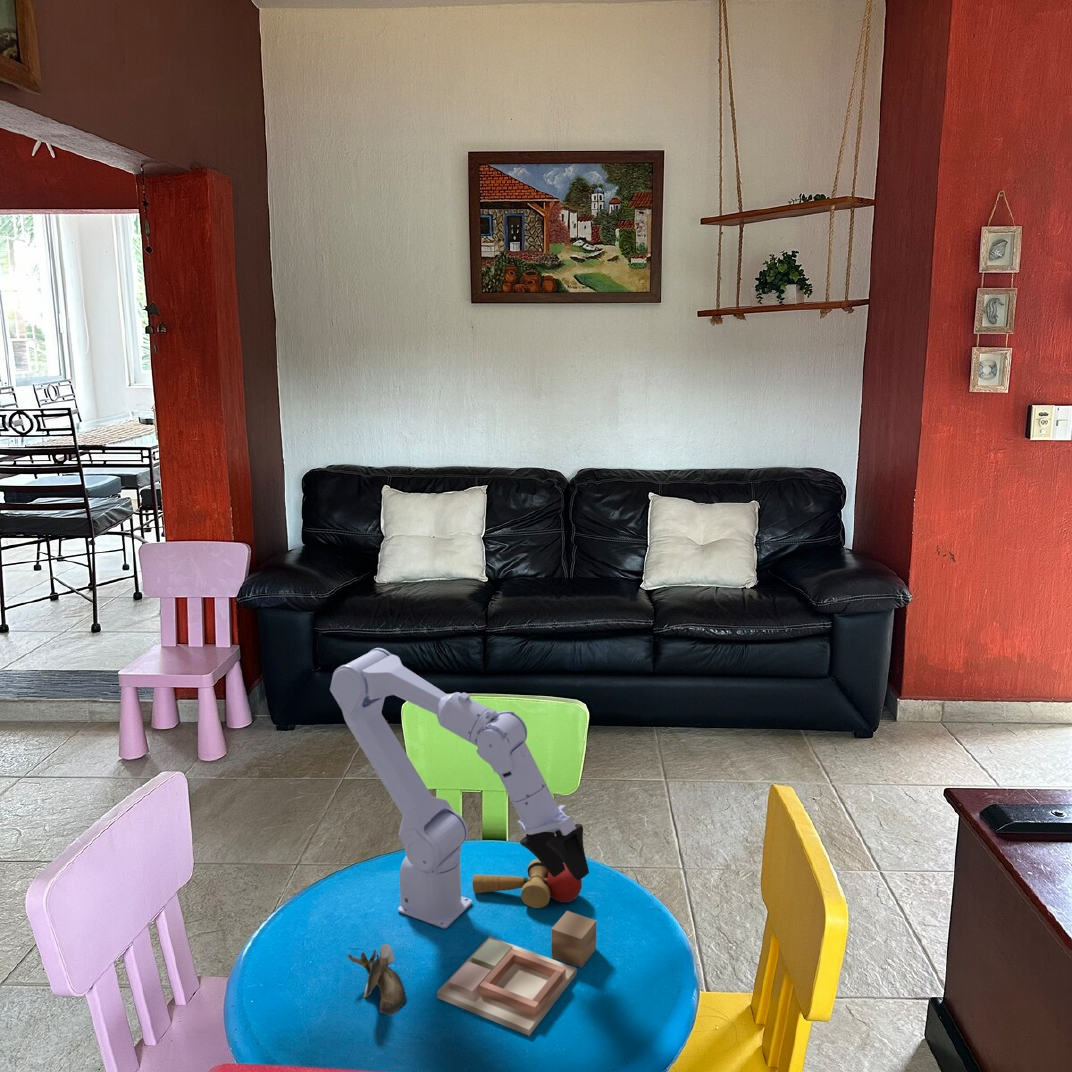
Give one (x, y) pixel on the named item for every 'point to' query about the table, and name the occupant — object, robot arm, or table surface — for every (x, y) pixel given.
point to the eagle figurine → (383, 979)
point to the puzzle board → (508, 985)
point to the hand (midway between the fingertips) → (570, 875)
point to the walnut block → (573, 939)
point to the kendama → (533, 885)
